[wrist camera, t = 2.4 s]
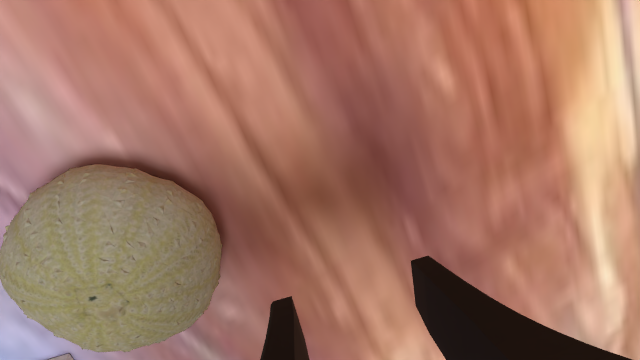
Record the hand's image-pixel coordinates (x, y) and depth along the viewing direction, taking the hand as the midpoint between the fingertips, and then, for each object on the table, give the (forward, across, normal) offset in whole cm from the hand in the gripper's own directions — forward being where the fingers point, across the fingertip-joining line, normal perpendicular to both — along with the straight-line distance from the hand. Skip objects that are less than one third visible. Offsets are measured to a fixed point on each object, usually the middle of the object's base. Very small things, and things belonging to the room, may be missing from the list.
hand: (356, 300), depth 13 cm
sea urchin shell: (+9, +10, 0) cm, 13 cm away
